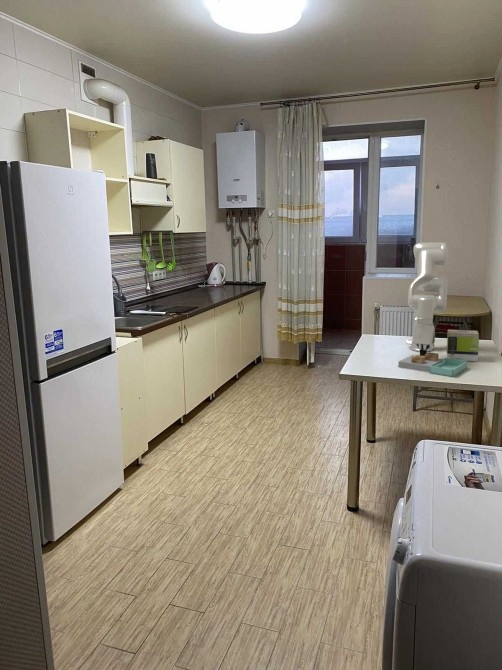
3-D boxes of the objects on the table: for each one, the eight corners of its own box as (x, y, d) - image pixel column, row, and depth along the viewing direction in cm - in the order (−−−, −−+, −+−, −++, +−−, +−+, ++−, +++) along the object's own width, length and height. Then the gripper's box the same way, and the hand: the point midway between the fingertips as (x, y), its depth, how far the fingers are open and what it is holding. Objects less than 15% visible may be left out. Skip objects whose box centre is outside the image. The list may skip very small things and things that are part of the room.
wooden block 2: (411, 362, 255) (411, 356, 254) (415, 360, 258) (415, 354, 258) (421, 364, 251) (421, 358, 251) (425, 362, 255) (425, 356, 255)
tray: (429, 373, 246) (429, 366, 246) (444, 364, 261) (445, 357, 260) (452, 377, 239) (453, 369, 239) (467, 368, 254) (467, 361, 253)
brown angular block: (424, 359, 259) (425, 354, 259) (428, 357, 263) (428, 352, 262) (434, 361, 256) (434, 355, 256) (438, 359, 260) (438, 353, 259)
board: (398, 367, 258) (398, 361, 257) (412, 360, 271) (412, 354, 270) (429, 372, 248) (430, 366, 247) (442, 365, 260) (443, 359, 260)
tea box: (476, 357, 274) (478, 330, 272) (477, 362, 265) (479, 333, 262) (446, 355, 279) (447, 328, 276) (446, 360, 270) (448, 332, 267)
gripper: (407, 321, 261) (405, 356, 264) (436, 324, 251) (434, 360, 255) (413, 319, 266) (412, 353, 270) (442, 322, 256) (440, 357, 260)
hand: (422, 356), depth 262 cm, fingers closed
